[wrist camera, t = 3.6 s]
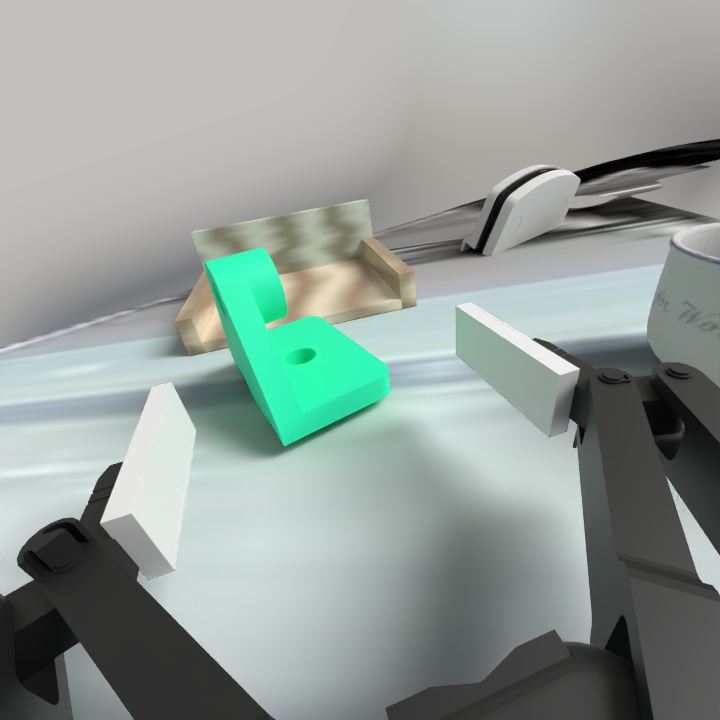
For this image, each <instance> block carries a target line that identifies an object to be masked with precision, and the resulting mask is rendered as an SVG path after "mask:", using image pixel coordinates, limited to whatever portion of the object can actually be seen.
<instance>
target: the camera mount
mask: <svg viewBox="0 0 720 720" xmlns="http://www.w3.org/2000/svg"><path fill="white" fill-rule="evenodd" d="M204 267H205V271H206V274H207V278H208V281H209V284H210V287H211V291H212V294H213V297H214V300H215V304H216V307H217V310H218V313H219V317H220V320H221V323H222V326H223V330H224V333H225V336H226V339H227V343H228V346H229V348H230V351H231V354H232V356H233V359H234V361H235V363H236V365H237V366H238V368H239V370H240V372H241V373H242V375H243V377H244V378H245V380H246V382H247V385H248V388H249V390H250V392H251V394H252V396H253V398H254V399H255V401H256V403H257V405H258V406H259V408H260V410H261V411H262V413H263V415H264V417H265V418H266V420H267V422H268V424H271V425H272V426H273V428H274V430H275V432H276V433H277V435H278V437H279V438H280V440H281V442H282V444H283V445H284V446H286V445H288V444H290V443H292V442H294V441H297V440H299V439H301V438H303V437H305V436H307V435H309V434H311V433H313V432H315V431H317V430H319V429H321V428H323V427H325V426H327V425H329V424H331V423H333V422H335V421H337V420H339V419H341V418H343V417H345V416H348V415H350V414H352V413H354V412H356V411H358V410H360V409H362V408H364V407H366V406H368V405H370V404H372V403H374V402H376V401H378V400H380V399H382V398H384V397H386V396H387V395H388V394H389V392H390V381H389V372H388V367H387V365H386V364H385V363H383V362H382V361H380V360H379V359H378V358H376V357H375V356H373V355H372V354H371V353H369V352H368V351H366V350H365V349H364V348H362V347H361V346H359V345H358V344H357V343H355V342H354V341H353V340H351V339H350V338H348V337H347V336H346V335H344V334H343V333H341V332H340V331H339V330H337V329H336V328H334V327H333V326H332V325H330V324H329V323H327V322H326V321H325V320H323V319H322V318H321V317H318V316H309V317H305V318H302V319H299V320H296V321H294V322H291V323H288V324H285V325H282V326H279V327H277V328H274V329H271V330H268V329H267V327H266V325H265V324H267V323H270V322H273V321H276V320H279V319H282V318H284V317H286V316H287V302H286V297H285V293H284V289H283V286H282V283H281V280H280V277H279V275H278V272H277V270H276V268H275V265H274V263H273V261H272V259H271V258H270V256H269V254H268V253H267V252H266V250H265V249H264V248H262V247H260V248H256V249H252V250H248V251H244V252H241V253H237V254H233V255H229V256H226V257H222V258H218V259H214V260H210V261H207V262H204Z"/></svg>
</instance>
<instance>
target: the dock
mask: <svg viewBox="0 0 720 720" xmlns="http://www.w3.org/2000/svg"><path fill="white" fill-rule="evenodd" d="M191 235H192V238H193V241H194V243H195V246H196V249H197V251H198V254H199V257H200V259H201V262H202V265H203V267H204V262H207V261H210V260H214V259H218V258H222V257H226V256H229V255H233V254H237V253H241V252H244V251H248V250H252V249H256V248H260V247H262V248H264V249H265V250H266V252H267V253H268V254H269V256H270V258H271V259H272V261H273V263H274V265H275V268H276V270H277V272H278V275H279V277H280V280H281V283H282V286H283V289H284V293H285V297H286V302H287V316H286V317H284V318H282V319H279V320H276V321H273V322H270V323H267V324H265V325H266V327H267V329H268V330H271V329H274V328H277V327H279V326H282V325H285V324H288V323H291V322H294V321H296V320H299V319H302V318H305V317H309V316H318V317H321V318H322V319H323V320H325V321H326V322H327V323H329V324H330V325H331V324H335V323H340V322H344V321H349V320H353V319H358V318H362V317H367V316H371V315H376V314H380V313H385V312H389V311H394V310H398V309H403V308H408V307H412V306H417V305H416V290H415V274H414V270H412V269H411V268H410V267H409V266H408V265H406V264H405V263H404V262H403V261H402V260H400V259H399V258H398V257H397V256H395V255H394V254H393V253H392V252H391V251H389V250H388V249H387V248H386V247H384V246H383V245H382V244H381V243H380V242H378V241H377V240H376V239H375V238H373V236H372V227H371V219H370V211H369V203H368V200H366V199H364V200H358V201H354V202H348V203H343V204H338V205H332V206H326V207H321V208H316V209H311V210H305V211H299V212H294V213H289V214H284V215H279V216H273V217H267V218H263V219H257V220H251V221H246V222H240V223H235V224H230V225H224V226H219V227H214V228H208V229H203V230H198V231H193V232H192V233H191ZM174 324H175V326H176V328H177V330H178V332H179V334H180V337H181V339H182V341H183V343H184V345H185V348H186V350H187V352H188V354H189V356H191V355H196V354H200V353H205V352H209V351H214V350H218V349H223V348H227V347H229V346H228V343H227V339H226V336H225V333H224V330H223V326H222V323H221V320H220V317H219V313H218V310H217V307H216V304H215V300H214V297H213V294H212V291H211V287H210V284H209V281H208V278H207V274H206V271H205V267H204V272H203V274H202V275H201V277H200V279H199V281H198V282H197V284H196V286H195V287H194V289H193V290H192V292H191V294H190V295H189V297H188V299H187V300H186V302H185V304H184V305H183V307H182V309H181V310H180V312H179V314H178V315H177V317H176V319H175V320H174Z"/></svg>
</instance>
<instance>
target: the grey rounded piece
mask: <svg viewBox="0 0 720 720" xmlns="http://www.w3.org/2000/svg"><path fill="white" fill-rule="evenodd" d="M579 184H580V178H579V177H577V176H576V175H575V174H573V173H572V172H570V171H567V170H563V169H562V168H559V167H556V166H549V165H535V166H531V167H528V168H525V169H523V170H521V171H518V172H516V173H515V174H513V175H511V176H509V177H508V178H506V179H505V180H503V181H502V182H501V183H499V184H498V185H497V186H495V187H494V188H493V189H492V190H491V191H490V193H489V194H488V197H487V199H486V202H485V204H484V207H483V209H482V212H481V214H480V217H479V219H478V222H477V224H476V227H475V229H474V232H473V234H472V235H471V236H469V237H466V238H464V240H463V243H462V246H461V249H460V251H465V250H467V249H470V248H473V249H476V248H480V247H482V246H483V248H482V250H483V253H482V254H484V255H486V256H493V255H495V254H497V253H499V252H502V251H504V250H506V249H508V248H511V247H513V246H515V245H517V244H520V243H522V242H524V241H527V240H529V239H531V238H533V237H536V236H538V235H540V234H542V233H545V232H547V231H549V230H551V229H554V228H556V227H558V226H561V225H562V222H563V220H564V218H565V215H566V213H567V211H568V209H569V206H570V204H571V202H572V199H573V197H574V195H575V193H576V190H577V188H578V186H579Z"/></svg>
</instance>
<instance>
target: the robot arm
mask: <svg viewBox="0 0 720 720" xmlns="http://www.w3.org/2000/svg"><path fill="white" fill-rule="evenodd" d="M456 355H457V356H458V357H459V358H460V359H461V360H462V361H463V362H465V363H466V364H467V365H468V366H469V367H470V368H471V369H472V370H474V371H475V372H476V373H477V374H478V375H479V376H480V377H481V378H483V379H484V380H485V381H486V382H487V383H488V384H489V385H490V386H492V387H493V388H494V389H495V390H496V391H497V392H498V393H499V394H501V395H502V396H503V397H504V398H505V399H506V400H507V401H508V402H510V403H511V404H512V405H513V406H514V407H515V408H516V409H517V410H519V411H520V412H521V413H522V414H523V415H524V416H525V417H526V418H528V419H529V420H530V421H531V422H532V423H533V424H534V425H535V426H537V427H538V428H539V429H540V430H541V431H542V432H543V433H544V434H546V435H547V436H548V437H552V436H555V435H557V434H560V433H563V432H566V431H567V428H568V423H569V418H570V419H571V420H573V421H574V422H575V423H577V424H578V426H577V431H576V435H575V439H574V444H573V448H576V447H577V448H578V460H579V471H580V483H581V494H582V506H583V517H584V529H585V540H586V552H587V563H588V575H589V586H590V598H591V609H592V628H591V637H590V645H589V644H584V643H579V642H562V640H561V639H560V637H559V636H558V634H557V633H556V631H555V630H552V631H550V632H548V633H546V634H544V635H541V636H539V637H537V638H535V639H533V640H531V641H528V642H526V643H524V644H522V645H520V646H518V647H516V648H515V649H514V650H513V651H512V652H511V653H510V654H509V655H508V656H507V657H506V658H505V659H504V660H503V661H502V662H501V663H500V664H499V665H498V666H497V667H496V668H495V669H494V670H493V671H492V672H491V673H490V674H489V675H488V676H487V677H486V678H485V679H484V680H483V681H481V682H479V683H473V684H462V685H451V686H440V687H430V688H428V689H426V690H423V691H421V692H419V693H417V694H415V695H413V696H411V697H408V698H406V699H404V700H402V701H400V702H398V703H396V704H393V705H391V706H389V707H387V708H386V711H387V715H388V719H389V720H720V595H719V593H718V591H717V590H716V589H715V588H714V587H713V586H712V585H709V584H705V583H703V582H702V581H701V580H700V579H699V577H698V574H697V572H696V569H695V566H694V562H693V559H692V556H691V553H690V550H689V547H688V544H687V541H686V538H685V534H684V531H683V528H682V525H681V522H680V519H679V516H678V513H677V510H676V506H675V503H674V500H673V497H672V494H671V491H670V488H669V485H668V481H667V478H668V479H669V481H670V482H671V484H672V485H673V487H674V488H675V490H676V491H677V493H678V494H679V495H680V497H681V498H682V500H683V501H684V503H685V504H686V506H687V507H688V509H689V510H690V512H691V513H692V515H693V516H694V518H695V519H696V521H697V522H698V524H699V525H700V527H701V528H702V530H703V531H704V533H705V534H706V536H707V537H708V539H709V540H710V542H711V543H712V545H713V546H714V548H715V549H716V551H717V552H718V553H719V555H720V388H719V387H718V386H717V385H716V384H715V383H714V382H713V381H712V380H711V379H709V378H708V377H707V376H706V375H705V374H704V373H703V372H701V371H700V370H698V369H697V368H695V367H692V366H689V365H687V364H684V363H683V364H682V363H678V362H665V363H660V364H658V365H656V366H655V368H654V371H653V374H652V376H644V377H632V376H631V375H629V374H628V373H626V372H623V371H621V370H618V369H612V368H599V369H594V368H592V367H591V366H589V365H587V364H586V363H584V362H582V361H580V360H579V359H577V358H575V357H574V356H572V355H570V354H567V352H565V351H563V350H562V349H559V348H558V347H556V346H555V345H553V344H551V343H550V342H547V341H544V340H540V339H537V338H534V339H530V338H528V337H527V336H525V335H523V334H522V333H520V332H518V331H517V330H515V329H513V328H512V327H510V326H509V325H507V324H505V323H504V322H502V321H500V320H499V319H497V318H495V317H494V316H492V315H490V314H489V313H487V312H485V311H484V310H482V309H481V308H479V307H477V306H476V305H474V304H472V303H471V302H469V303H465V304H461V305H458V306H456ZM195 437H196V429H195V427H194V425H193V423H192V421H191V419H190V417H189V415H188V413H187V411H186V409H185V407H184V406H183V404H182V402H181V400H180V398H179V396H178V394H177V392H176V390H175V388H174V386H173V384H172V382H169V383H165V384H161V385H157V386H154V387H152V388H151V391H150V394H149V396H148V399H147V401H146V404H145V407H144V409H143V412H142V414H141V417H140V420H139V422H138V425H137V428H136V430H135V433H134V435H133V438H132V441H131V443H130V446H129V448H128V451H127V454H126V456H125V459H124V461H123V462H120V463H117V464H113V465H110V466H109V467H108V468H107V469H106V471H105V472H104V473H103V474H102V475H101V476H100V477H99V479H98V481H97V483H96V485H95V488H94V490H93V494H91V497H90V499H89V501H88V505H87V506H86V508H85V510H84V513H83V515H82V517H81V519H80V521H79V520H77V519H75V518H63V519H60V520H58V521H55V522H53V523H51V524H49V525H47V526H46V527H44V528H42V529H41V530H39V531H38V532H37V533H36V534H35V535H33V536H32V537H31V538H30V539H29V540H28V541H27V542H26V544H25V545H24V546H23V547H22V549H21V550H20V553H19V555H18V557H17V563H18V566H19V567H20V568H22V569H23V570H24V571H25V572H26V573H27V574H28V575H30V576H31V577H32V578H33V579H34V580H33V581H31V582H29V583H27V584H26V585H24V586H22V587H20V588H19V589H17V590H15V591H13V592H12V593H10V594H8V595H6V596H5V597H4V596H3V595H1V594H0V720H73V716H72V709H71V702H70V695H69V688H68V681H67V674H66V667H65V660H64V652H65V651H67V650H68V649H70V648H71V647H73V646H74V645H76V644H77V643H79V642H80V643H81V644H82V646H83V647H84V649H85V650H86V651H87V653H88V654H89V656H90V657H91V659H92V660H93V661H94V663H95V664H96V666H97V667H98V669H99V670H100V671H101V673H102V674H103V676H104V677H105V679H106V680H107V681H108V683H109V684H110V686H111V687H112V689H113V690H114V691H115V693H116V694H117V696H118V697H119V699H120V700H121V701H122V703H123V704H124V706H125V707H126V709H127V710H128V711H129V713H130V714H131V716H132V717H133V719H134V720H275V719H274V718H273V717H271V716H270V715H269V714H268V713H267V712H266V711H265V710H264V709H263V708H262V707H261V706H260V705H259V704H258V703H257V702H256V701H255V700H254V699H253V698H252V697H251V696H250V695H249V694H248V693H247V692H246V691H245V690H244V689H243V688H242V687H241V686H240V685H239V684H238V683H237V682H236V681H235V680H234V679H233V678H232V677H231V676H230V675H229V674H228V673H227V672H226V671H225V670H224V669H223V668H222V667H221V666H220V665H219V664H218V663H217V662H216V661H215V660H214V659H213V658H212V657H211V656H210V655H209V654H208V653H207V652H206V651H205V650H204V649H203V648H202V647H201V646H200V645H199V644H198V643H197V642H196V641H195V640H194V638H193V637H192V636H191V635H190V634H189V633H188V632H187V631H186V630H185V629H184V628H183V627H182V626H181V625H180V624H179V623H178V622H177V621H176V620H175V619H174V618H173V617H172V616H171V615H170V614H169V613H168V612H167V611H166V610H165V609H164V608H163V607H162V606H161V605H160V604H159V603H158V602H157V601H156V600H155V599H154V598H153V597H152V596H151V595H150V594H149V593H148V592H147V591H146V590H145V589H144V588H143V587H142V586H141V585H140V584H139V583H138V582H137V581H136V580H137V576H138V572H139V570H140V571H141V572H142V574H143V575H144V576H145V577H146V578H147V580H150V579H152V578H155V577H158V576H161V575H164V574H166V573H169V572H172V571H175V566H176V560H177V553H178V547H179V540H180V534H181V527H182V521H183V514H184V508H185V502H186V495H187V489H188V482H189V476H190V469H191V463H192V456H193V450H194V444H195ZM666 476H667V478H666Z"/></svg>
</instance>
